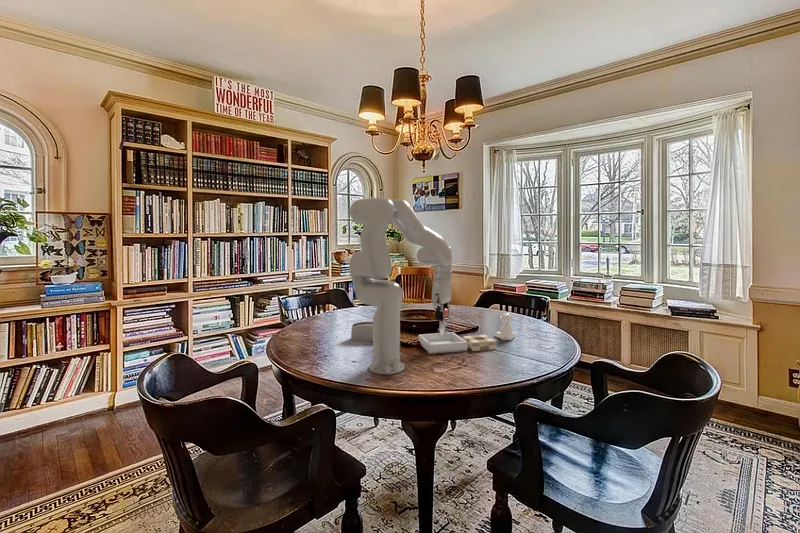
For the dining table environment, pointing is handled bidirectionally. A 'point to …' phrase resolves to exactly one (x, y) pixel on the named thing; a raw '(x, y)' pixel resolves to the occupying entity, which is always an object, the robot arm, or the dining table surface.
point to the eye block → (480, 342)
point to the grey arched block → (362, 331)
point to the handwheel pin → (443, 323)
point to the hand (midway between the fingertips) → (442, 318)
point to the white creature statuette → (505, 328)
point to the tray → (442, 343)
